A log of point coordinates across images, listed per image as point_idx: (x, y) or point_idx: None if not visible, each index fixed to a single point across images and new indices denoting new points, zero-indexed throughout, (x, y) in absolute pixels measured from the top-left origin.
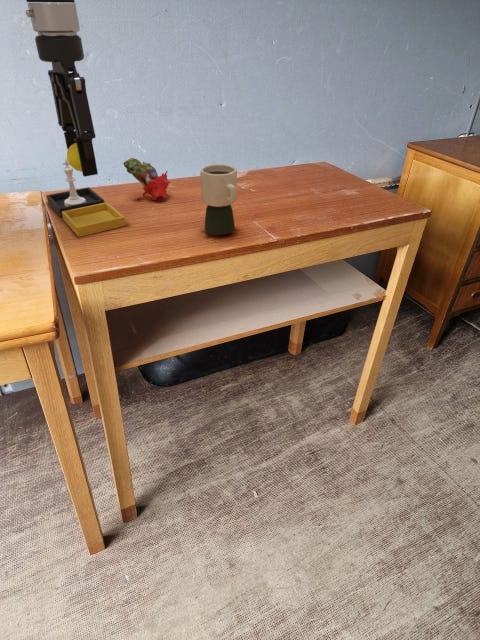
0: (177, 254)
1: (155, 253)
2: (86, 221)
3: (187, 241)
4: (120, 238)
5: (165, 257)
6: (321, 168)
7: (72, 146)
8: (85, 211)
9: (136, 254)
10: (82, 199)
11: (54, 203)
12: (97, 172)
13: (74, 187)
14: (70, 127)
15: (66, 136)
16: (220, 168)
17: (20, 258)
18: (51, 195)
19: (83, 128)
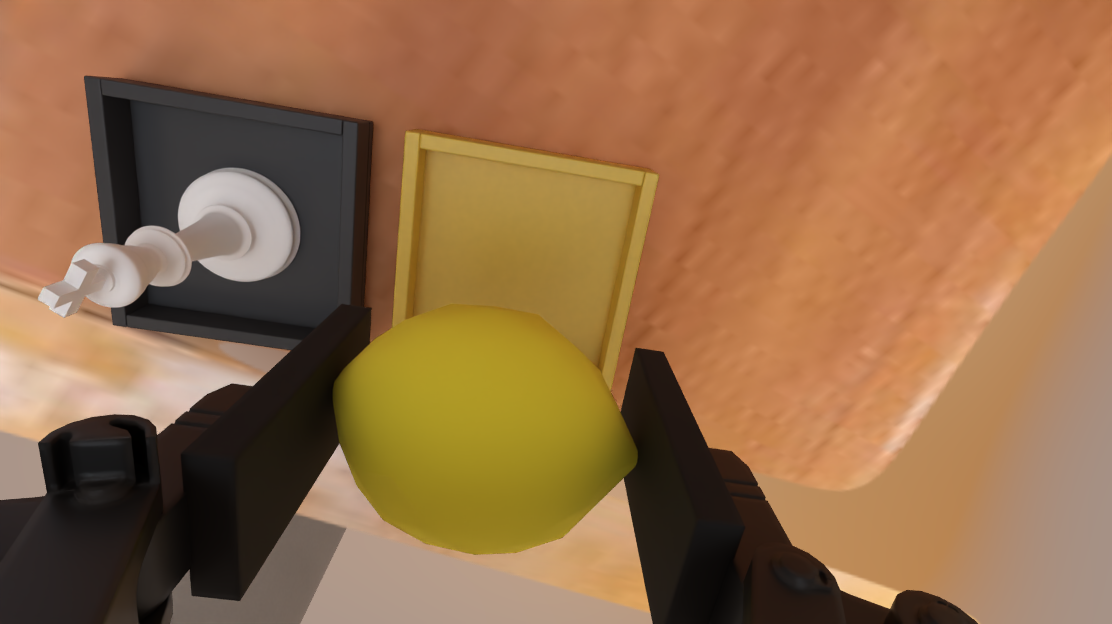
0: (1059, 170)
1: (971, 233)
2: (502, 294)
3: (1021, 47)
4: (744, 262)
5: (1031, 224)
6: None
7: (475, 547)
8: (414, 257)
9: (912, 293)
10: (255, 198)
11: (261, 344)
12: (665, 358)
13: (199, 235)
14: (154, 560)
15: (260, 562)
16: None
17: (619, 567)
18: (126, 305)
19: None
